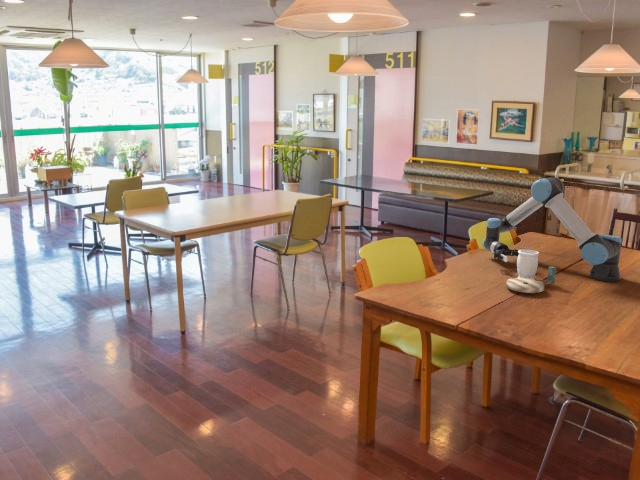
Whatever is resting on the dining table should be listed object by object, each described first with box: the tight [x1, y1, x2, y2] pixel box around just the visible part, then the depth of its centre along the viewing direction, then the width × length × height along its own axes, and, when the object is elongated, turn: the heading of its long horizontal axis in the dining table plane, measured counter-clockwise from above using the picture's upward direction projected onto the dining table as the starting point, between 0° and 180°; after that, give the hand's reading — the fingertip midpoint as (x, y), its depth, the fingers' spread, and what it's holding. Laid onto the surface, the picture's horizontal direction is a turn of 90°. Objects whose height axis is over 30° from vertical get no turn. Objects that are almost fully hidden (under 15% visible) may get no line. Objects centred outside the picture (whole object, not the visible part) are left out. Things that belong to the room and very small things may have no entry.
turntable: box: [505, 266, 557, 294], centre depth 301 cm, size 27×18×8 cm, turn 115°
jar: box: [516, 248, 540, 280], centre depth 317 cm, size 11×10×15 cm
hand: (518, 259), depth 325 cm, fingers open, 13 cm apart
